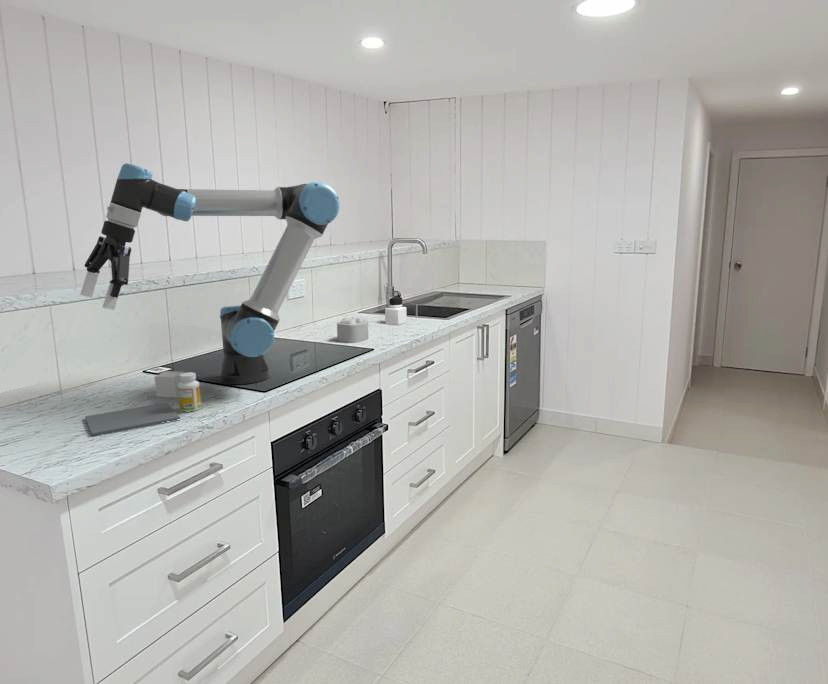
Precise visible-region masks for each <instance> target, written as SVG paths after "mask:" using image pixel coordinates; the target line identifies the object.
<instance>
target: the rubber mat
mask: <svg viewBox="0 0 828 684" xmlns="http://www.w3.org/2000/svg"><path fill="white" fill-rule="evenodd" d="M84 419H85V422H86V424H87V427H88V428H89V429H88V430H89V431H90V434H91V436H92V437H97V435H99V436H102V435H101V434H104V435H107V434H106V433H109V434H113V433H112V432H115V433H118V432H117V431H120V432H123V430H125V431H129V430H128V429H131V430H133V429H132V428H136V429H140V428H139V427H141V428H144V427H143V426H147V425H152V424H157V423H162V422H167V421H173V420H177V419H180V420H181V417H180V415H179V414H178V413H177V412H176V411H175V410H174V409H173V407H172V406H171V405H170V404H169V403H168V402H167V401H166V402H161V403H154V404H149V405H144V406H138V407H137V406H136V407H131V408H126V409H121V410H115V411H108V412H102V413H97V414H91V415H90V414H89V415H85V416H84ZM173 422H174V421H173ZM162 424H163V423H162ZM157 425H158V424H157ZM152 426H153V425H152ZM147 427H148V426H147Z"/></svg>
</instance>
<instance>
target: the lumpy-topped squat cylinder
mask: <svg viewBox="0 0 828 684" xmlns="http://www.w3.org/2000/svg"><path fill="white" fill-rule="evenodd" d="M336 333H337V335H336V336H337V342H340V343H347V344H357V343H361V342H364V341H368V340H369V321H368V320H367V319H365V317H362V316H361V317H359V316H353V317H352V318H349V317H347V316H345V317H344V318H343V319H342V320H341V321H338V322H337V323H336Z"/></svg>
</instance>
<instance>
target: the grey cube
mask: <svg viewBox="0 0 828 684" xmlns="http://www.w3.org/2000/svg"><path fill="white" fill-rule="evenodd" d="M182 373H185V371H173V370H171V371H169V370H165V371H163V372H161V373H159V374H157V375H154V378H153V379H154V388H155V389H154V390H155V396H156V397H158V398H159V397H161V398H177V397H179V394H178V384H179V383H180V382H181V381H180V374H182Z"/></svg>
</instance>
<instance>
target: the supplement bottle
mask: <svg viewBox="0 0 828 684" xmlns="http://www.w3.org/2000/svg"><path fill="white" fill-rule="evenodd" d="M196 379H197V375H196V372H191V371H190V372H184V373H182V374H180V381H181V382H180V383H179V384H178V394H179V396H178V403H179V410H180V411H181V412H182V411H185V412H184V413H191V412H190V411H194V412H196V410H197V411H199V410H201V409H202V402H201V401H202V400H201V399H202V398H201V389H200V382H199V381H198V380H196Z"/></svg>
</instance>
